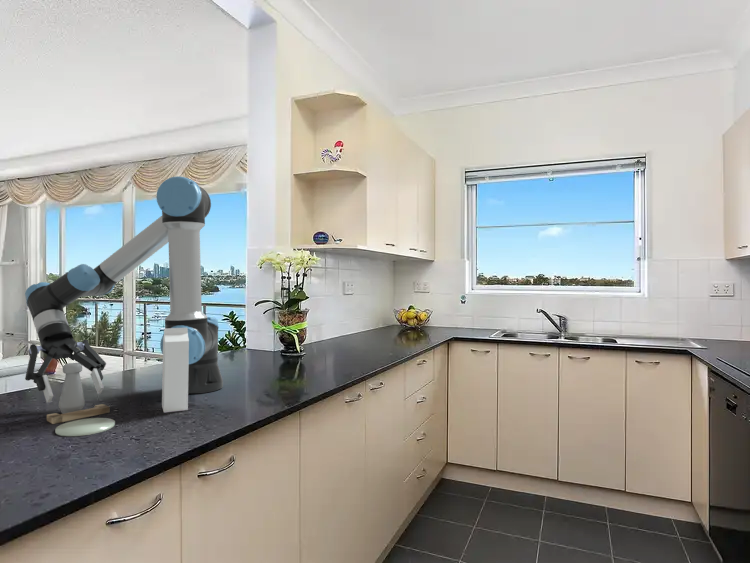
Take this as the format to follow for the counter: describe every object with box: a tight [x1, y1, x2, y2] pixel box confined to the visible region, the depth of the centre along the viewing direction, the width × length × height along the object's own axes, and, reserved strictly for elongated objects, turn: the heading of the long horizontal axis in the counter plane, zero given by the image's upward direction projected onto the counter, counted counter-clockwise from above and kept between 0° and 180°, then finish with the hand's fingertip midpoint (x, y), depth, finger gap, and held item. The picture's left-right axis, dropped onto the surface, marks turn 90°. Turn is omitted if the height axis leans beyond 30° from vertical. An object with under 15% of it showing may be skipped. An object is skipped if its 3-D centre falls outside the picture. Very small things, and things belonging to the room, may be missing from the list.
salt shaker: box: [58, 362, 86, 414], centre depth 123 cm, size 6×6×13 cm
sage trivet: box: [54, 417, 116, 437], centre depth 112 cm, size 12×12×1 cm
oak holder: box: [46, 403, 110, 425], centre depth 120 cm, size 4×13×2 cm, turn 143°
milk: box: [161, 327, 189, 413], centre depth 128 cm, size 6×6×22 cm
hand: (76, 395), depth 121 cm, fingers open, 11 cm apart
